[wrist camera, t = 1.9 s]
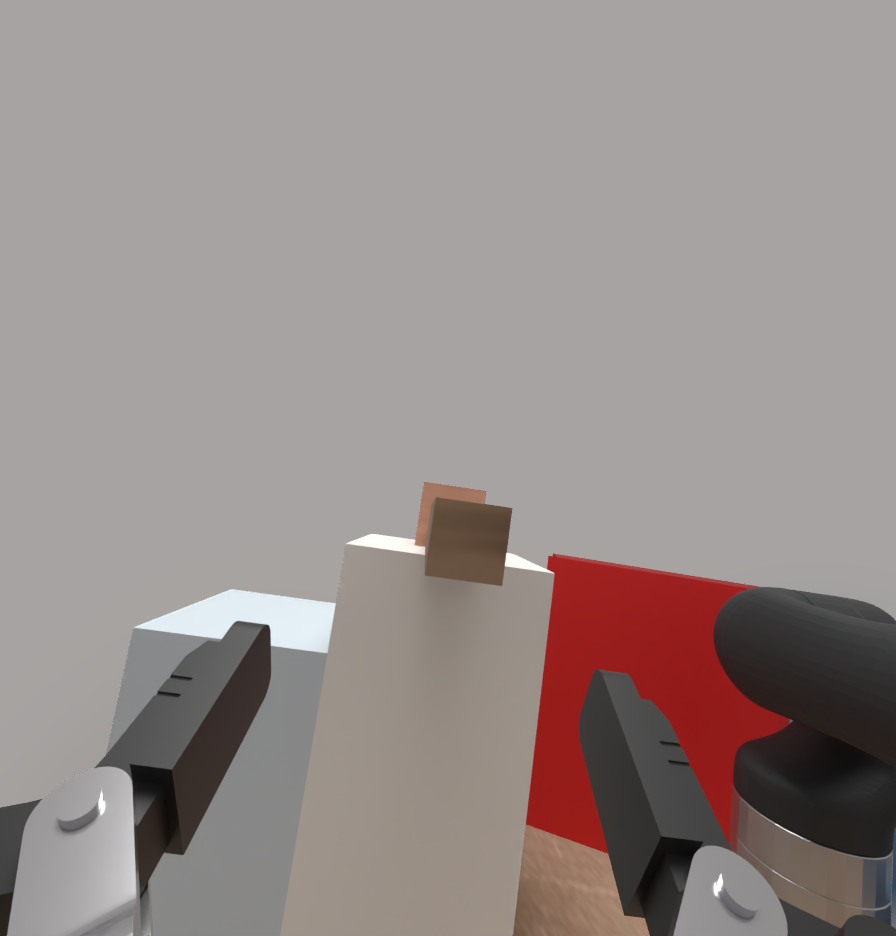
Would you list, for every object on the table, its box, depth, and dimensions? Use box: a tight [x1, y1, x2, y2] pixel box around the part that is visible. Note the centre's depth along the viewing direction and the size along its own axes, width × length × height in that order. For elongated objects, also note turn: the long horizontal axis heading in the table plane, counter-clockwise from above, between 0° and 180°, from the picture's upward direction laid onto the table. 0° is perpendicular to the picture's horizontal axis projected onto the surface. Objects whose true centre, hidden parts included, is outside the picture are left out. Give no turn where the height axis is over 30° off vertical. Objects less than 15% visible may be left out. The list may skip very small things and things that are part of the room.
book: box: [526, 554, 790, 853], centre depth 54 cm, size 27×8×32 cm, turn 73°
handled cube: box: [415, 482, 512, 586], centre depth 35 cm, size 25×6×6 cm, turn 3°
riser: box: [106, 534, 555, 936], centre depth 39 cm, size 16×30×32 cm, turn 93°
